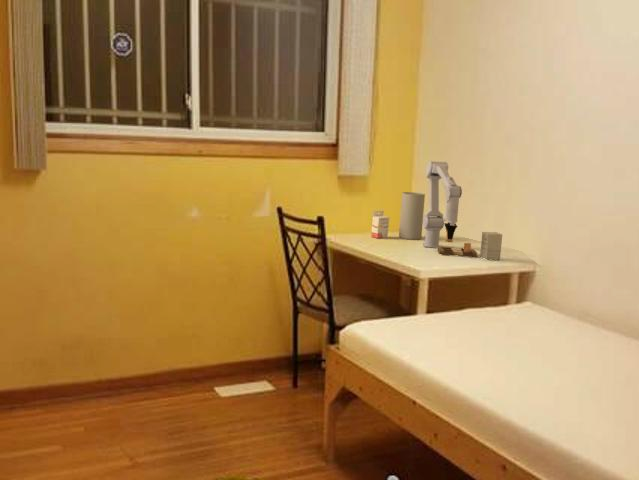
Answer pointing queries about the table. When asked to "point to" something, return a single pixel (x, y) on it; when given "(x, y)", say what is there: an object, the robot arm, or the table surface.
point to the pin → (467, 247)
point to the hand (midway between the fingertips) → (449, 238)
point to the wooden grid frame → (456, 251)
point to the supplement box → (491, 245)
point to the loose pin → (448, 239)
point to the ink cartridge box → (379, 225)
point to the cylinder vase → (411, 215)
